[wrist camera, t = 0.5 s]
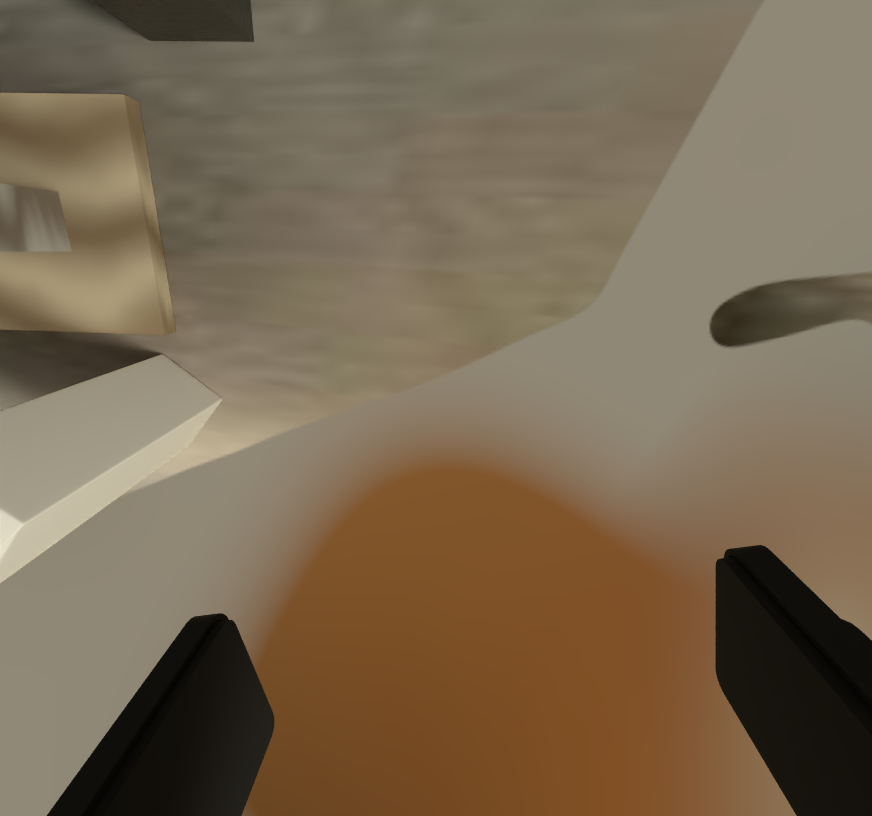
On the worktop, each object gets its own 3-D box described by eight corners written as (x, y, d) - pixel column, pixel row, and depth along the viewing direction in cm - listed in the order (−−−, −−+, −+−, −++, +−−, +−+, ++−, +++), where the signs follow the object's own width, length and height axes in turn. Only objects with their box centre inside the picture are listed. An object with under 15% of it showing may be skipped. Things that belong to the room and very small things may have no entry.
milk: (163, 353, 38) (-204, 475, 17) (224, 399, 39) (-48, 568, 18) (128, 405, 39) (-244, 576, 18) (188, 448, 40) (-99, 656, 20)
